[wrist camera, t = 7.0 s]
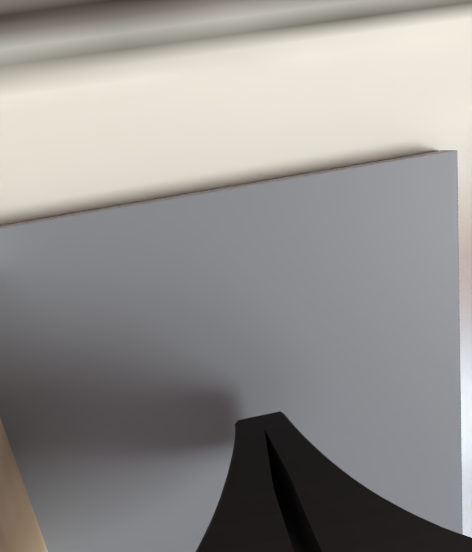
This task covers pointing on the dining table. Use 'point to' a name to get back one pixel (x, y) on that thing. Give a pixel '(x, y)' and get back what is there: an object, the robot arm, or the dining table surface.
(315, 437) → the board
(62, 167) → the dining table surface
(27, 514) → the t block
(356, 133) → the dining table surface
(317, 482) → the robot arm
